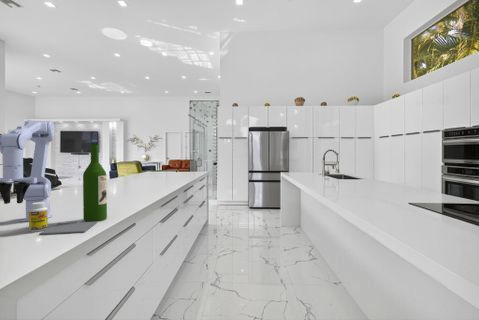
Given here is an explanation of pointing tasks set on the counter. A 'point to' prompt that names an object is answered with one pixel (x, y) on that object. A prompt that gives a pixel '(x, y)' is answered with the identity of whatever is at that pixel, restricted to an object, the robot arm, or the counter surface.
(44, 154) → the robot arm
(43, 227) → the supplement bottle
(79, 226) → the mat
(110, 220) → the counter surface
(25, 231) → the counter surface
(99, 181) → the wine bottle
